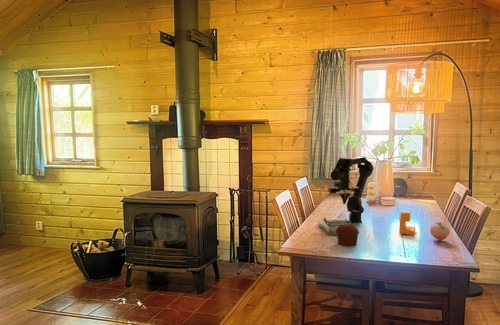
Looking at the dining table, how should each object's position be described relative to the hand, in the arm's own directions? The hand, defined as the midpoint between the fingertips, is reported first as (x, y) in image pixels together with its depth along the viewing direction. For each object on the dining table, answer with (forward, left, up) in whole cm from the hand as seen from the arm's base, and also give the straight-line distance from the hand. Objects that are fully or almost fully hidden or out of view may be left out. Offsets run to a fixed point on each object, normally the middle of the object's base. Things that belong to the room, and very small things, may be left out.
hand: (344, 204), depth 227 cm
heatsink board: (+7, +10, -13) cm, 18 cm away
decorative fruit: (-39, +36, -13) cm, 55 cm away
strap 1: (+8, +15, -9) cm, 19 cm away
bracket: (-30, +20, -13) cm, 38 cm away
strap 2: (+6, +5, -9) cm, 12 cm away
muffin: (+10, +37, -13) cm, 41 cm away
